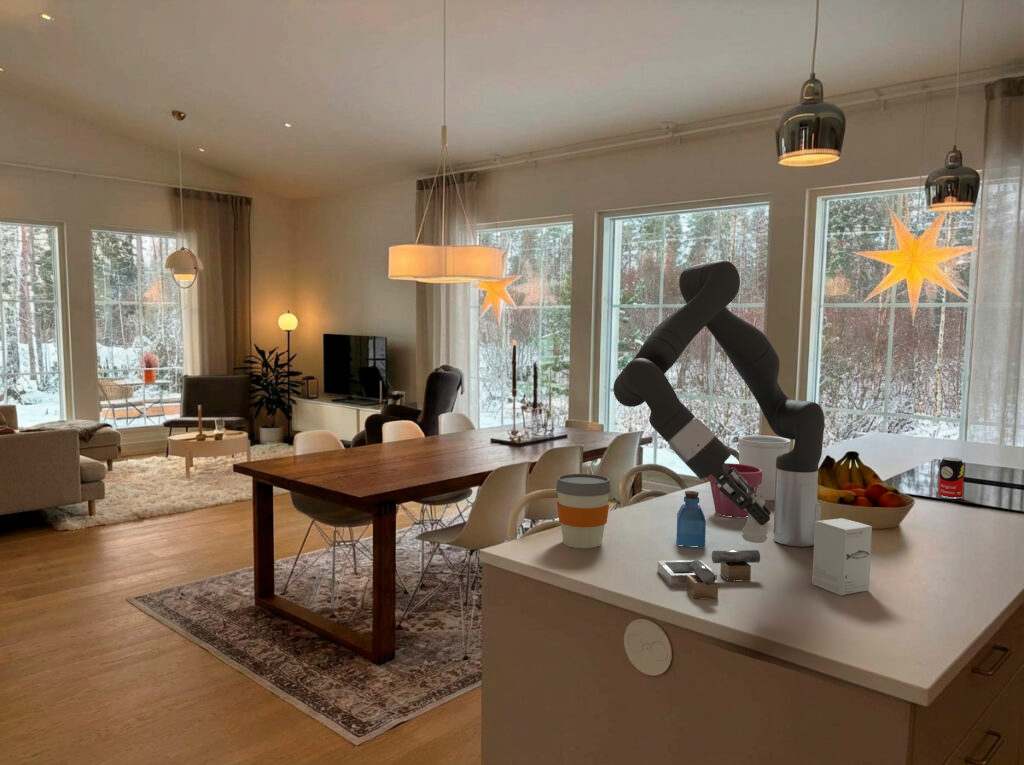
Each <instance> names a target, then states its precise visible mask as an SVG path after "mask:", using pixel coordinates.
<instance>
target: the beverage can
mask: <svg viewBox="0 0 1024 765" xmlns="http://www.w3.org/2000/svg"><path fill="white" fill-rule="evenodd" d="M941 459H942V460H941V461H940V463H939V472H938V493H937V494H938V495H939V494H940V495H943V496H948V497H962V498H963V496H964V478H965V476H964V474H965V465H964V462H963V459H962V458H958V457H957V458H956V457H942V458H941Z"/></svg>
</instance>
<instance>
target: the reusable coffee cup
mask: <svg viewBox="0 0 1024 765" xmlns="http://www.w3.org/2000/svg"><path fill="white" fill-rule="evenodd" d="M555 487H556V488H555V490H556V492H557V498H558V500H557V502H556V505H557V514H558V515H557V516H558V522H559V523H560V527H561V533H562V534H561V536H562V543H563V544H564V545H565V546H567V547H571V548H575V549H576V548H577V549H592V548H593V547H594V548H598V547H600V546H602V544H603V537H604V531H605V525H606V524H607V522H608V517H609V509H610V503H609V496H610V494H611V491H612V490H611V480H610V478H609V477H608V476H605V475H602V474H601V475H600V474H593V473H568V474H562V475H559V476H557V479H556V486H555ZM597 546H598V547H597ZM594 548H593V549H594Z"/></svg>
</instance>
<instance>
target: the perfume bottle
mask: <svg viewBox="0 0 1024 765" xmlns="http://www.w3.org/2000/svg"><path fill="white" fill-rule="evenodd" d="M699 494H700V493H699V492H698V491H695V490H686V491H684V495H685V496H683V502H684V503H683V504H681V506H680V508H679V509H678V511H677V513H676V546H677V545H683V546H698V547H705V548H706V528H707V527H706V526H707V523H706V522H707V521H706V517H705V513H704V511H703V509H702V506H701V505H700V504H699V503H700V497H699Z"/></svg>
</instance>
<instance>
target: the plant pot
mask: <svg viewBox="0 0 1024 765" xmlns="http://www.w3.org/2000/svg"><path fill="white" fill-rule="evenodd" d="M725 463H726V462H725ZM726 464H727V465H728V466H729V467H730V468H732V467H734V468H736V469H737V471H738V472H739V473H740V474H741V476H742V477H743V478H744V479H745V480H746V481H747V482H748V484H749V485H750V486H751V487H752V488H753V489H754V491H755V493H756V492H757V488H758V485H760V484H761V483H762V470H761V469H760V468H758V467H754V466H750V465H744V464H739V463H732V462H731V463H728V462H727V463H726ZM706 479H707V481H709V484H710V489H711V494H712V500H713V505H714V512H715V514H716V513H718V514H721V515H725V516H732V517H746V516H748V512H747V510H746V511H745V510H741V509H740V508H739V507H738V506H737V505H736V504H735V503H733V502H732V501H731V500H730V499H729V498H728V497H727V496H726V495H725V494H724V493H722V492H721V491H720V489H719V487H718V486H717V485H716V483H717V481H716V479H715V478H714V477H713V476H712V475H709V476H708V477H707V478H706ZM740 500H741V499H740ZM741 501H742V500H741ZM718 514H717V515H718ZM721 515H720V516H721ZM746 518H747V517H746Z"/></svg>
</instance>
